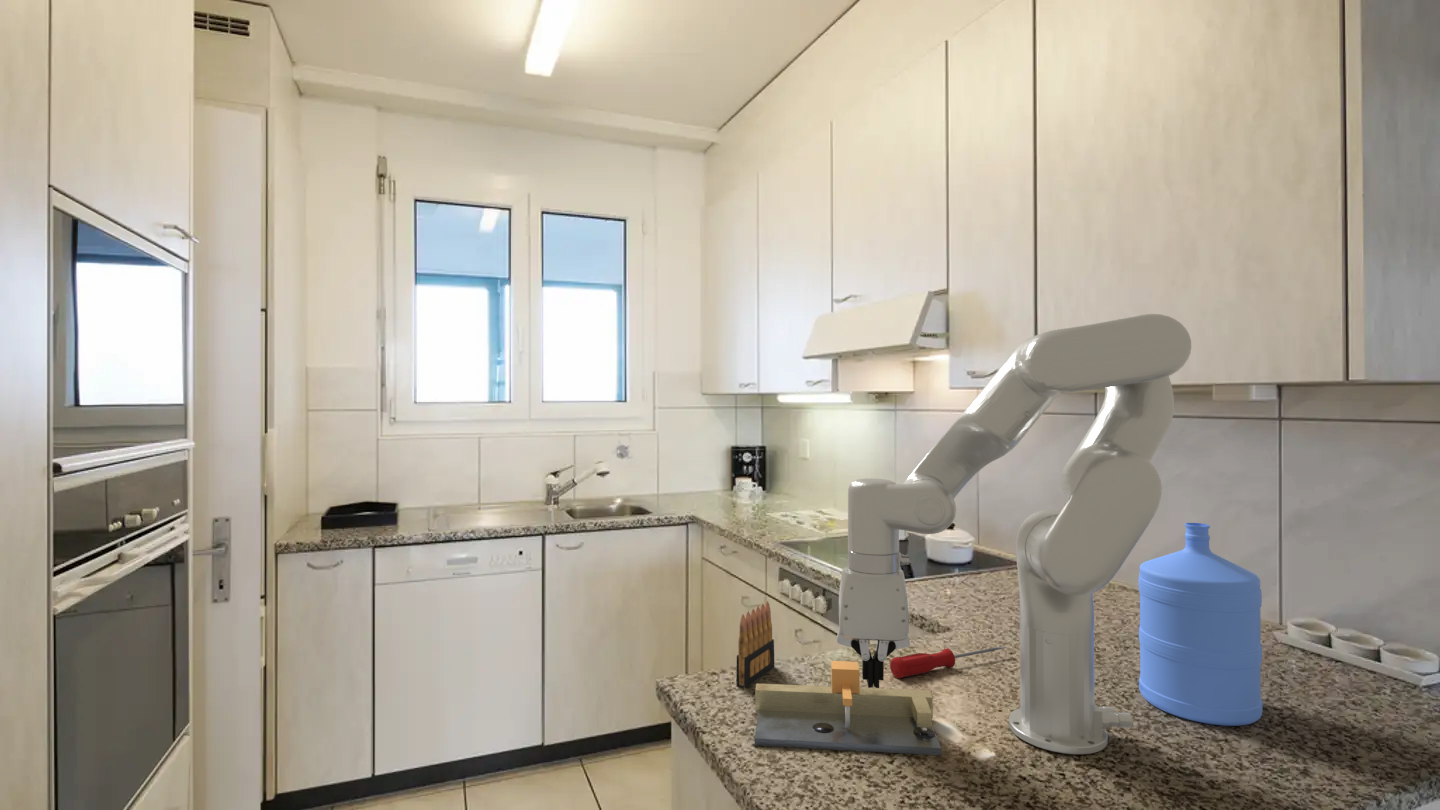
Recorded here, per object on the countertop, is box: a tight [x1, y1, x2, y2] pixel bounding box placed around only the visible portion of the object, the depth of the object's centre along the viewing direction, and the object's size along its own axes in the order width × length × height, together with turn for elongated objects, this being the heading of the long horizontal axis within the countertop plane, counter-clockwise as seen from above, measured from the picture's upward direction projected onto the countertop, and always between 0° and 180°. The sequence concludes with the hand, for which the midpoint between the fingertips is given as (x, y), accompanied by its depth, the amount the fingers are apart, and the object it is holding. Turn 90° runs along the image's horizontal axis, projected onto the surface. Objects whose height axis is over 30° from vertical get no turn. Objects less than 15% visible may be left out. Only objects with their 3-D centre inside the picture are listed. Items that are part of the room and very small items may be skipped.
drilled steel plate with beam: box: [754, 683, 942, 756], centre depth 100 cm, size 26×14×4 cm, turn 83°
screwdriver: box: [889, 646, 1007, 679], centre depth 122 cm, size 4×25×4 cm, turn 113°
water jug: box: [1138, 522, 1264, 727], centre depth 106 cm, size 16×16×28 cm
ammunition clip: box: [735, 600, 775, 689], centre depth 119 cm, size 11×2×12 cm, turn 148°
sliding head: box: [830, 660, 860, 728], centre depth 101 cm, size 4×8×6 cm, turn 173°
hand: (872, 684), depth 103 cm, fingers closed
